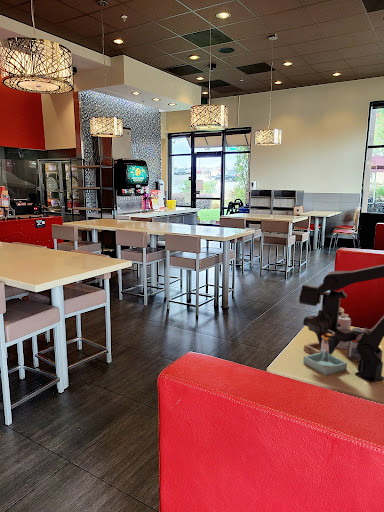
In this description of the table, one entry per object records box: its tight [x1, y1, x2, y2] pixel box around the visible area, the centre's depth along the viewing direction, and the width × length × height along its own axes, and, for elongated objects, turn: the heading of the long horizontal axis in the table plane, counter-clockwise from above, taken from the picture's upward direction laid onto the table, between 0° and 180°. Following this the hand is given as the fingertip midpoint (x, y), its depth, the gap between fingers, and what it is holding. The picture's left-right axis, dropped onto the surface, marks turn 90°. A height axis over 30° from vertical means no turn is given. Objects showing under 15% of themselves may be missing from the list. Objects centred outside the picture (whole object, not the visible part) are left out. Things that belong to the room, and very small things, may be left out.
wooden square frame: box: [303, 341, 321, 355], centre depth 145 cm, size 7×7×2 cm
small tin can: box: [320, 333, 332, 362], centre depth 132 cm, size 4×4×9 cm
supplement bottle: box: [346, 327, 364, 362], centre depth 140 cm, size 6×6×11 cm
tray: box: [302, 353, 348, 376], centre depth 133 cm, size 10×10×2 cm
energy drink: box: [336, 316, 352, 350], centre depth 151 cm, size 5×5×12 cm
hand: (326, 351), depth 132 cm, fingers closed on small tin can, 4 cm apart
